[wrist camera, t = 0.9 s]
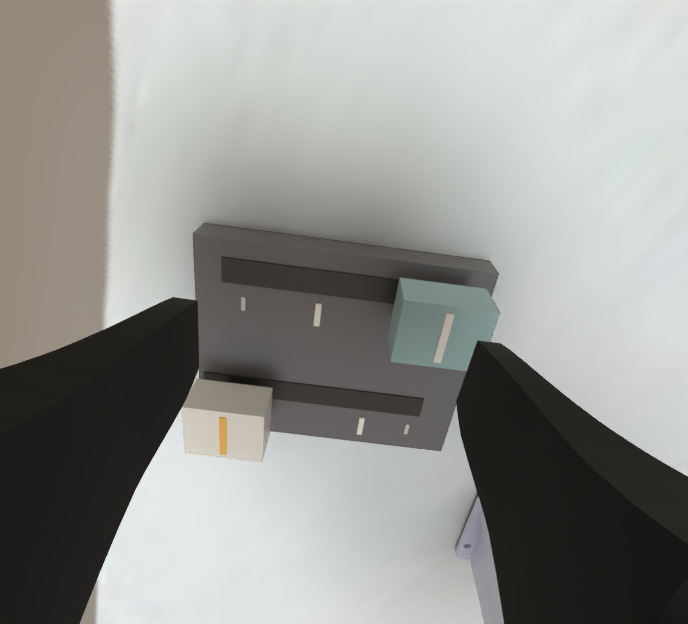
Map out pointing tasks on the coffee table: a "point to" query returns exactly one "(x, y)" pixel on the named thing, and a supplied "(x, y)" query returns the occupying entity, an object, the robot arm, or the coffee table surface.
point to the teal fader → (439, 323)
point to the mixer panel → (324, 332)
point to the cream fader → (227, 420)
